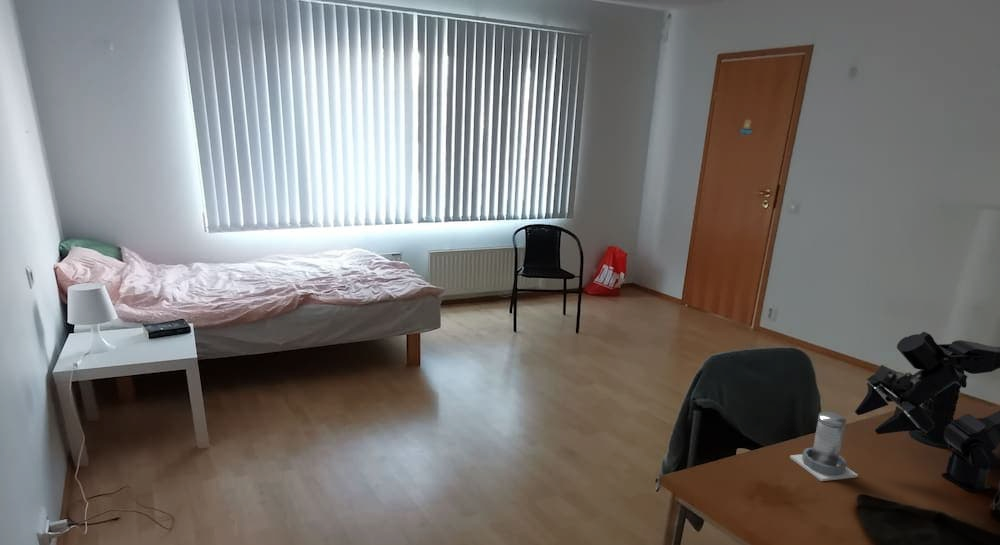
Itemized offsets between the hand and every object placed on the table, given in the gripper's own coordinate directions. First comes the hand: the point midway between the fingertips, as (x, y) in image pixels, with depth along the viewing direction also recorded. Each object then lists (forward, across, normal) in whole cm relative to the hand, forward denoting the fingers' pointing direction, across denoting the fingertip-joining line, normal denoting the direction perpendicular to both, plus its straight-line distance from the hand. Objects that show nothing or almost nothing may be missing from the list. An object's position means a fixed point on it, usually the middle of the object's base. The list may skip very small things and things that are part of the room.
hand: (865, 422), depth 128 cm
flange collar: (+14, 0, +3) cm, 15 cm away
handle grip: (-11, -21, +29) cm, 38 cm away
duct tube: (+14, 0, +3) cm, 14 cm away
